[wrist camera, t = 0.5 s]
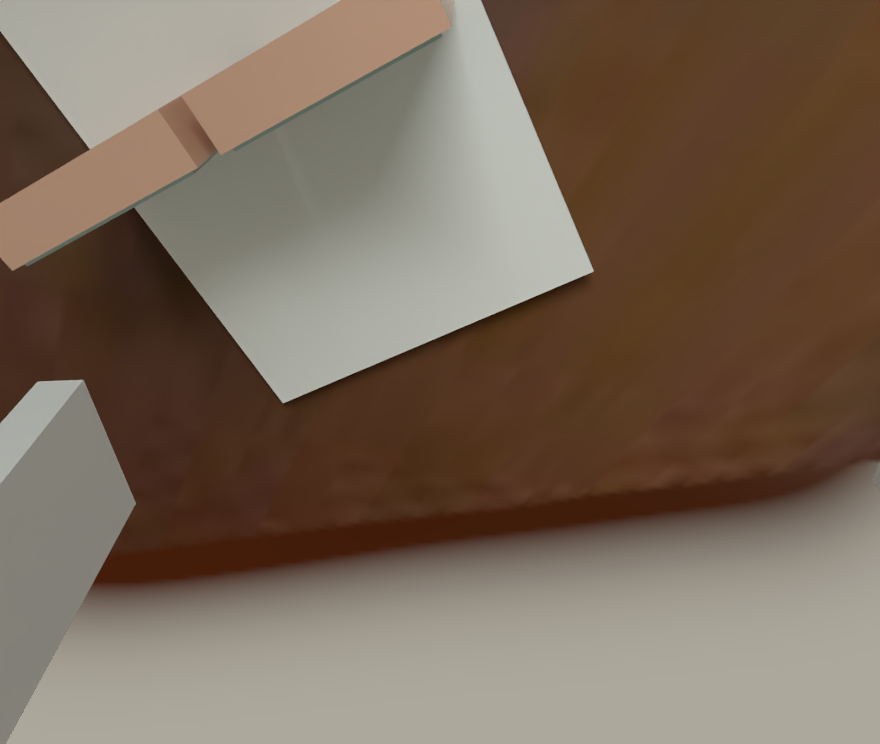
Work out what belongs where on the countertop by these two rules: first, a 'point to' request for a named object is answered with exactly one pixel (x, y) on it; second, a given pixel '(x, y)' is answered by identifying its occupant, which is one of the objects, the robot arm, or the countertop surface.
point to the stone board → (325, 180)
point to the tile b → (313, 65)
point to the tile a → (103, 183)
